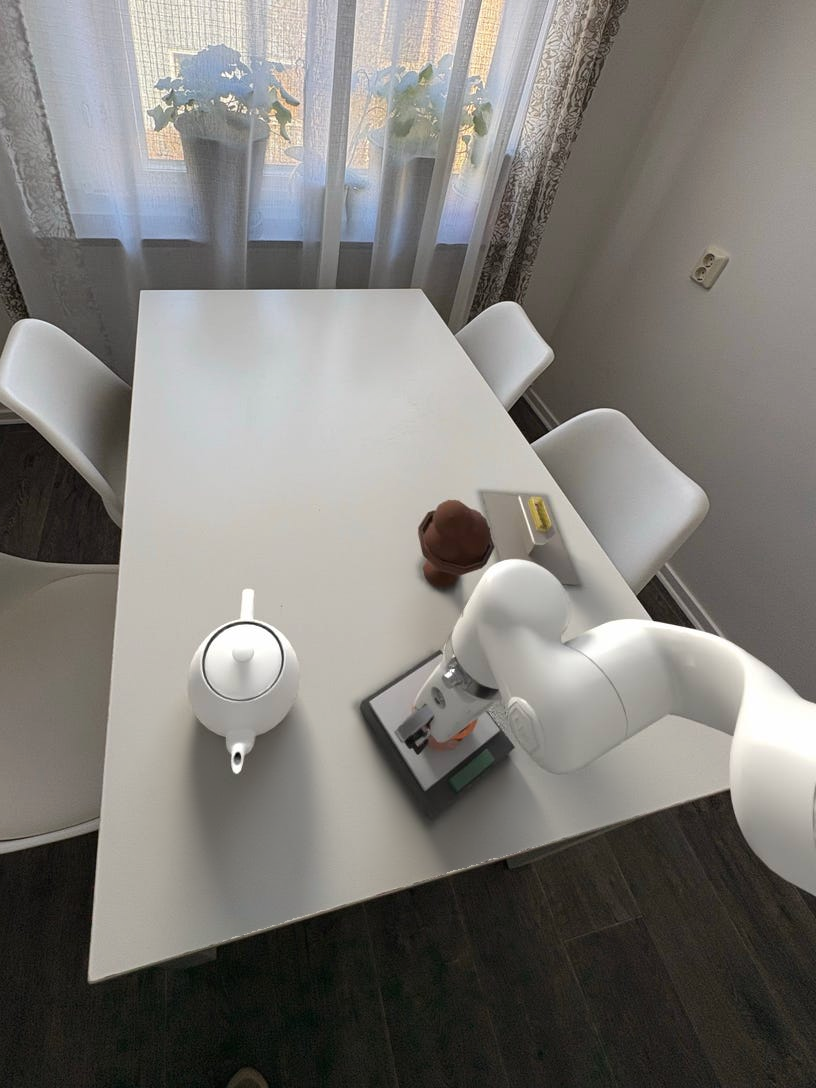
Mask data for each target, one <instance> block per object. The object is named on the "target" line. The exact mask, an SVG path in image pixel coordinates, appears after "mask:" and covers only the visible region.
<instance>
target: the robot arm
mask: <svg viewBox="0 0 816 1088" xmlns="http://www.w3.org/2000/svg"><path fill="white" fill-rule="evenodd" d="M571 611H572V610H571V603H570V599H569V596H568V594H567V592H566V589H565V587H564V586H563V584H561V583H560V582H559V581H558V580H557V578H556V577H555V576H554V575H552V574H551V573H550V572H549V571H548V570H546V569H545V568H543V567H541V566H539V565H537V564H535V563H533V562H530V561H526V560H520V559H509V560H504V561H501V562H500V561H499V562H496V563H494V564H492V566H490V567H488V568H487V569H486V571H485V572H484V574H483V575H482V577H480V579H479V581H478V582H477V585H476V587H475V588H474V590H473V592H472V594H471V595H470V597H469V599H468V601H467V603H466V604H465V606H464V608H463V610H462V612H461V613H460V615H459V618H458V619H457V621H456V623H455V625H454V626H453V629H452V630H451V632H450V633H449V636H448V637H447V639H446V641H445V644H444V646H443V651H442V653H443V660H442V662H441V663H440V664H439V665H438V667H437V668H435V670H434V672H433V673H432V674H431V676H430V677H429V678H428V680H427V681H426V683H425V684H424V685H423V687H422V688H421V690H420V692H419V693H418V695H417V697H416V700H415V704H414V708H415V709H416V710H415V711H414V712H413V713H412V714H411V715H410V716H409V717H407V719H406V720H405V721H404V722H403V723H402V724H401V725H400V726H399V727H398V729H397V730H395V732H394V733H395V734H396V736H397V738H398V739H399V741H400V742H401V743H405V744H406V746H407V747H408V748H409V749H411V748H413V750H414V751H415V753H416V754H417V755H419V754H420V753H421V752H422V751H423V750H424V748H425V747H426V745H427V744H428V743H429V742H428V741H429V740H428V738H429V737H430V736H431V735H432V736H433V737H434V738H435V739H436V741H437V742H441V743H444V742H446V741H448V740H449V739H451V738H452V737H453V736H455V735H456V734H457V733H459V732H460V731H461V730H463V729H464V728H465V727H467V726H468V725H469V724H471V723H472V722H473V721H475V720H476V719H477V718H478V717H480V716H481V715H482V714H484V713H485V712H486V711H489V710H490V709H491V708H493V707H494V706H495V705H496V704H497V703H499V702H501V701H502V702H503V705H504V706H505V710H506V712H507V713H506V714H507V717H508V723H509V725H510V728H511V731H512V733H513V735H514V737H515V739H516V741H517V743H518V744H519V745H520V747H521V748H522V749H523V751H524V752H525V753H526V754H527V755H528V756H529V757H530V758H531V760H532V761H533V762H534V763H535V764H536V765H537V766H539V767H540V768H542V770H544V771H546V772H548V773H550V774H554V775H562V776H563V775H569V774H572V773H573V774H574V773H575V772H577V771H579V770H581V769H583V768H585V767H587V766H588V765H590V764H591V763H593V762H595V761H597V760H598V759H599V758H601V757H602V756H604V755H606V754H607V753H609V752H610V751H612V750H613V749H615V748H616V747H618V746H620V745H622V744H623V743H624V742H625V741H627V740H630V739H631V738H633V737H634V736H636V735H637V734H639V733H641V732H642V731H643V730H646V729H647V728H649V727H650V726H652V725H654V724H655V723H657V722H659V721H661V720H662V719H663V718H665V717H667V716H675V717H680V718H682V719H686V720H689V721H693V722H695V723H698V724H701V725H703V726H707V727H708V728H712V729H715V730H717V731H719V732H722V733H724V734H726V735H728V736H731V737H732V740H731V744H730V745H731V746H730V751H729V752H730V753H729V763H728V764H729V765H728V771H729V790H730V798H731V805H732V808H733V813H734V815H735V820H736V821H737V822H736V823H737V824H738V826H739V829H740V831H741V833H742V835H743V838H744V840H745V842H746V843H747V844H748V846H749V848H750V849H751V850H752V852H753V853H754V854H755V856H756V857H758V858H759V860H760V861H761V862H762V863H763V864H764V865H765V866H766V867H767V868H768V869H770V871H772V872H773V873H775V874H776V875H778V876H779V877H780V878H782V879H783V880H785V881H787V883H790V884H792V885H794V886H796V887H798V888H799V889H801V890H803V891H805V892H807V893H809V894H811V895H812V896H814V897H816V703H814V702H812V701H808V700H806V699H804V698H803V697H801V696H800V695H799V694H798V693H797V692H796V690H794V688H793V687H792V686H791V685H790V684H789V683H788V682H786V680H784V678H782V677H781V676H780V675H779V674H778V673H777V672H775V670H773V669H772V668H771V667H769V666H768V665H767V664H765V663H764V662H763V661H760V660H759V659H758V658H756V657H755V656H754V655H752V654H751V653H749V652H747V651H746V650H745V649H743V648H742V647H740V646H738V645H737V644H736V643H734V642H731V641H730V640H728V639H725V638H723V637H721V636H718V635H715V634H713V633H710V632H706V631H704V630H703V631H702V630H699V629H695V628H689V627H685V626H681V625H675V624H671V623H666V622H661V621H654V620H648V619H637V618H624V619H616V620H611V621H607V622H605V623H603V624H600V625H598V626H595V627H593V628H591V629H589V630H586V631H585V632H582V633H581V634H579V635H577V636H574V637H572V638H571V639H569V640H566V641H565V642H563V641H562V636H563V635H564V633H565V632H566V630H567V629H568V627H569V624H570V621H571V613H572V612H571ZM425 724H427V726H428V727H429V729H428V730H427V731H426V732H425V733H424V731H423V730H422V728H421V727H423V726H424V725H425Z"/></svg>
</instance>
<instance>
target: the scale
mask: <svg viewBox="0 0 816 1088" xmlns="http://www.w3.org/2000/svg"><path fill="white" fill-rule="evenodd" d="M442 660H443V651H442V650H441V649H438V650H436V651H435V652H434V653H432V654H430V655H429V656H428V657H426V658H425V659H423V660H422V661H420V662H419V663H416V664H415V665H414V666H413V667H411V668H409V669H408V670H406V671H405V672H403V673H402V674H400V675H399V676H397V677H396V678H394V679H393V680H391V681H390V682H388V683H386V684H385V685H383V686H381V687H380V688H379V689H377V690H376V691H374V692H373V693H371V694H369V695H368V696H366V697H365V698H363V699H362V700H361V703H360V705H359V709H360V711H361V712H362V714H363V716H364V717H365V719H366V720H367V722H368V724H369V725H370V727H371V729H372V730H373V732H374V733H375V735H376V736H377V738H378V740H379V742H380V743H381V744H382V746H383V748H384V749H385V751H386V752H387V754H388V755H389V757H390V759H391V760H392V762H393V763H394V765H395V767H396V768H397V770H398V772H399V773H400V775H401V776H402V778H403V780H404V781H405V783H406V785H407V786H408V788H409V789H410V791H411V793H412V794H413V796H414V797H415V799H416V801H417V802H418V804H419V805H420V807H421V809H422V810H423V811H424V813H425V815H426V817H427V818H428V820H431V819H433V817H435V816H436V815H437V814H438V813H439V812H441V811H442V810H443V809H444V808H446V807H447V806H448V805H449V804H450V803H452V802H453V801H454V800H455V799H456V798H457V797H459V796H460V795H461V794H462V793H464V792H465V791H466V790H467V789H468V788H469V787H471V786H472V785H473V784H474V783H475V782H476V781H478V780H479V779H480V778H482V777H483V776H484V775H485V774H486V773H487V772H488V771H490V770H491V769H492V768H493V767H494V766H495V765H497V764H498V763H499V762H501V760H503V759H504V758H505V757H506V756H507V755H509V754H510V753H511V752H512V751H514V749H515V748H516V746H515V744H513V742H512V741H511V740H510V738H509V737H508V736H507V734H506V733H505V732H504V731H503V729H502V728H501V727H500V725H499V724H498V723H497V721H496V720H495V719H494V718H493V716H492V715H491V714H490V713H489V710H487V711H486V712H485V713H484V714H482V715H481V716H480V717H478V720H477V723H476V725H475V728H474V730H473V731H472V732H471V734H470V735H469V736H468V737H467V738H466V739H465V740H464V742H463V743H461V744H460V745H459V746H458V747H456V748H455V749H453V750H446V751H439V750H437V749H434V748H432V747H429V746H427V745H426V747H425V748H424V750H423V751H422V752H421V753H420V754H419V755H417V754H416V753H415V751H414V750H413V748H411V749H409V748H408V747H407V746H406V744H405V743H401V742H400V741H399V739H398V738H397V736H396V734H395V733H394V732H395V730H397V729H398V727H399V726H400V725H401V724H402V723H403V722H404V721H405V720H406V719H407V717H409V716H410V715H411V714H412V707H413V705H414V703H415V700H416V697H417V695H418V693H419V692H420V690H421V688H422V687H423V685H424V684H425V683H426V681H427V680H428V678H429V677H430V676H431V674H432V673H433V672H434V670H435V668H437V667H438V665H439V664H440V663H441V662H442Z"/></svg>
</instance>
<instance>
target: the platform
mask: <svg viewBox="0 0 816 1088" xmlns="http://www.w3.org/2000/svg"><path fill="white" fill-rule="evenodd" d="M482 498H483V502H484V505H485V508H486V513H487V516H488V520H489V524H490V529H491V532H492V535H493V539H494V544H495V548H496V551H497V555H498V558H499V562H501V561H504V560H509V559H520V560H526V561H530V562H533V563H535V564H537V565H539V566H541V567H543V568H545V569H546V570H548V571H549V572H550V573H551V574H552V575H554V576H555V577H556V578H557V580H558V581H559V582H560V583H561V585H573V586H579V582H578V579H577V577H576V574H575V571H574V569H573V566H572V563H571V561H570V558H569V556H568V553H567V550H566V547H565V544H564V542H563V539H562V537H561V534H560V531H559V529H558V525H557V523H556V520H555V517H554V515H553V512H552V509H551V506H550V504H549V501H548V498H547V497H546V496H533V495H530V494H528V493H526V494H525V493H520V494H519V495H514V494H500V493H499V494H498V493H483V492H482Z"/></svg>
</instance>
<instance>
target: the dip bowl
mask: <svg viewBox="0 0 816 1088" xmlns="http://www.w3.org/2000/svg"><path fill="white" fill-rule="evenodd" d="M414 704H415V703H414ZM415 710H416V709H415V708H414V705H413V707H412V713H413V712H414V711H415ZM477 720H478V718H477V719H476V720H475V721H473V722H472V723H471V724H469V725H468V726H467V727H465V728H464V729H463V730H461V731H460V732H459V733H457V734H456V735H455V736H453V737H452V738H451V739H449V740H448V741H446V742H444V743H441V742H437V741H436V739H435V738H434V737H433V736H432V735H431V736H430V737H429V738H428V740H429V741H428V742H429V743H428V744H427V746H429V747H432V748H434V749H437V750H439V751H446V750H453V749H455V748H456V747H458V746H459V745H460V744H461V743H463V742H464V740H465V739H466V738H467V737H468V736H469V735H470V734H471V732H472V731H473V730H474V728H475V725H476V723H477ZM421 728H422V730H423V731H424V733H425V732H426V731H427V730H428V729H429V727H428V726H427V724H425V725H424V726H423V727H421Z"/></svg>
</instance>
